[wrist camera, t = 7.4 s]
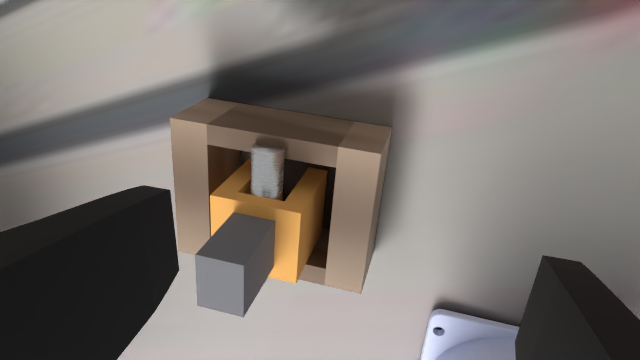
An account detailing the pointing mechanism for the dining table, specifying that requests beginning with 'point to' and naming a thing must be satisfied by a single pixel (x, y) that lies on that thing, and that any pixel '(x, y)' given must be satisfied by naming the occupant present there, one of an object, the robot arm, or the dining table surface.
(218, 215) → the orange u-shaped bracket
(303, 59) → the dining table surface
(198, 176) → the rectangular frame
